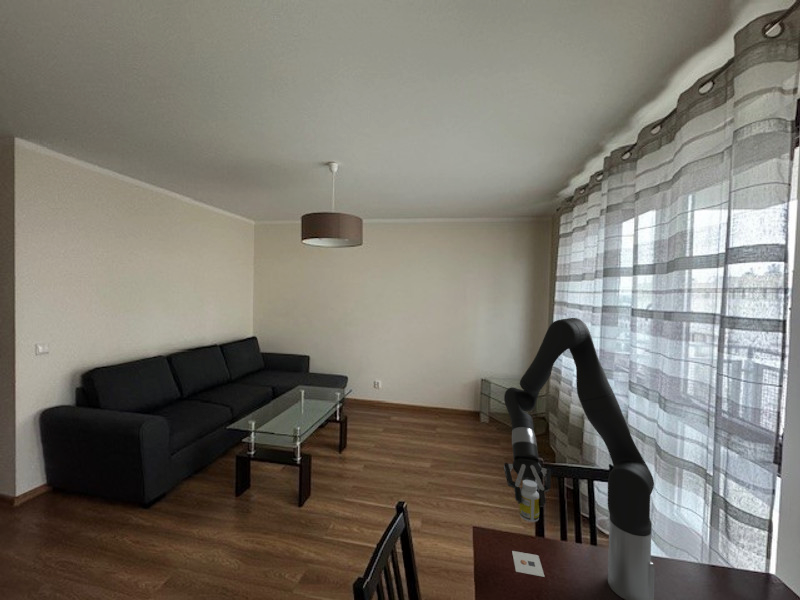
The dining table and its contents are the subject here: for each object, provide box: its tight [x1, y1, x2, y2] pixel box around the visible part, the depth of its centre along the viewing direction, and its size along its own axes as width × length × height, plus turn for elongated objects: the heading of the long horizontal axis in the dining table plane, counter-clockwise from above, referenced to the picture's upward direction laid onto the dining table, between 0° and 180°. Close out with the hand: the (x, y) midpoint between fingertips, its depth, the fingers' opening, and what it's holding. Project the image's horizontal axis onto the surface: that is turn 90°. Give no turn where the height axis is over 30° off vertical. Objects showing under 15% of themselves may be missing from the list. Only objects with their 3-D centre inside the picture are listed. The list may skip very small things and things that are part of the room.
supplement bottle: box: [518, 480, 540, 523], centre depth 96 cm, size 5×5×10 cm
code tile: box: [511, 550, 546, 578], centre depth 96 cm, size 8×8×1 cm
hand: (530, 504), depth 94 cm, fingers closed on supplement bottle, 5 cm apart
